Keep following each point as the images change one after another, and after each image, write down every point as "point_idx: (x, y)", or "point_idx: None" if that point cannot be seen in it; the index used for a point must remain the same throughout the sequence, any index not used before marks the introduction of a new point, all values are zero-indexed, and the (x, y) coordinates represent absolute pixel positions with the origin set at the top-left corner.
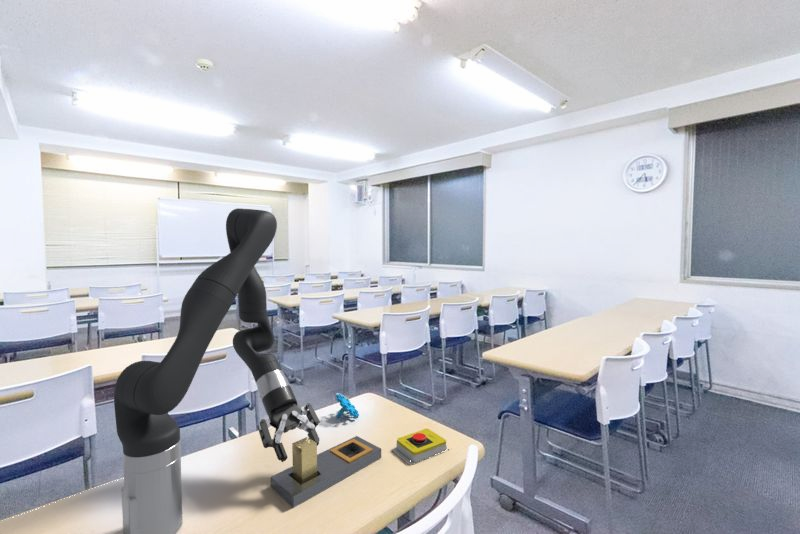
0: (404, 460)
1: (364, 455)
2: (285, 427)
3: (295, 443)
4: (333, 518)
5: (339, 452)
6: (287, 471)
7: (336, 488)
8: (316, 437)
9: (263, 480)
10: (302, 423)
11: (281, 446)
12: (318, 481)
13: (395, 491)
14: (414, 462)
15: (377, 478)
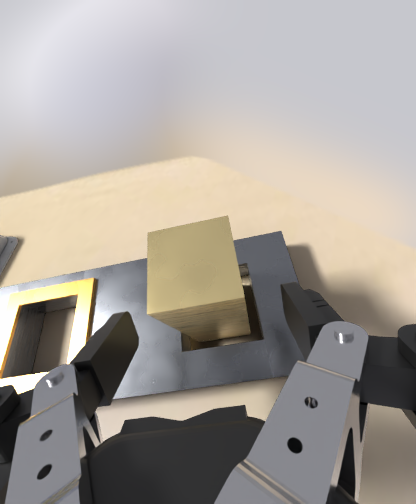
0: (9, 255)
1: (46, 286)
2: (256, 425)
3: (230, 283)
4: (221, 185)
5: (72, 344)
6: (260, 360)
7: None
8: (103, 326)
9: None
10: (84, 427)
11: (310, 311)
12: None
13: (101, 192)
14: (8, 239)
15: (90, 236)
